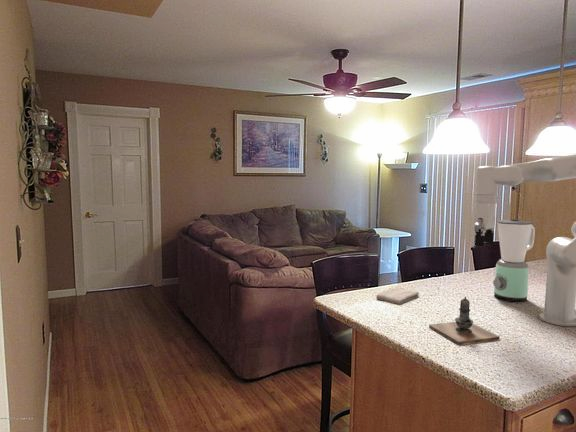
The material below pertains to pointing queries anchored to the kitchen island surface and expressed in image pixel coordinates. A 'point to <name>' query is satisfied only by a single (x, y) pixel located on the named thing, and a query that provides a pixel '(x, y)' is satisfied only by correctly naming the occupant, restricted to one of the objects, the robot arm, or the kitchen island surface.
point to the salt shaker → (464, 317)
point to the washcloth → (397, 295)
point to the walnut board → (463, 338)
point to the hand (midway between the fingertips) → (484, 244)
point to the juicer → (513, 259)
